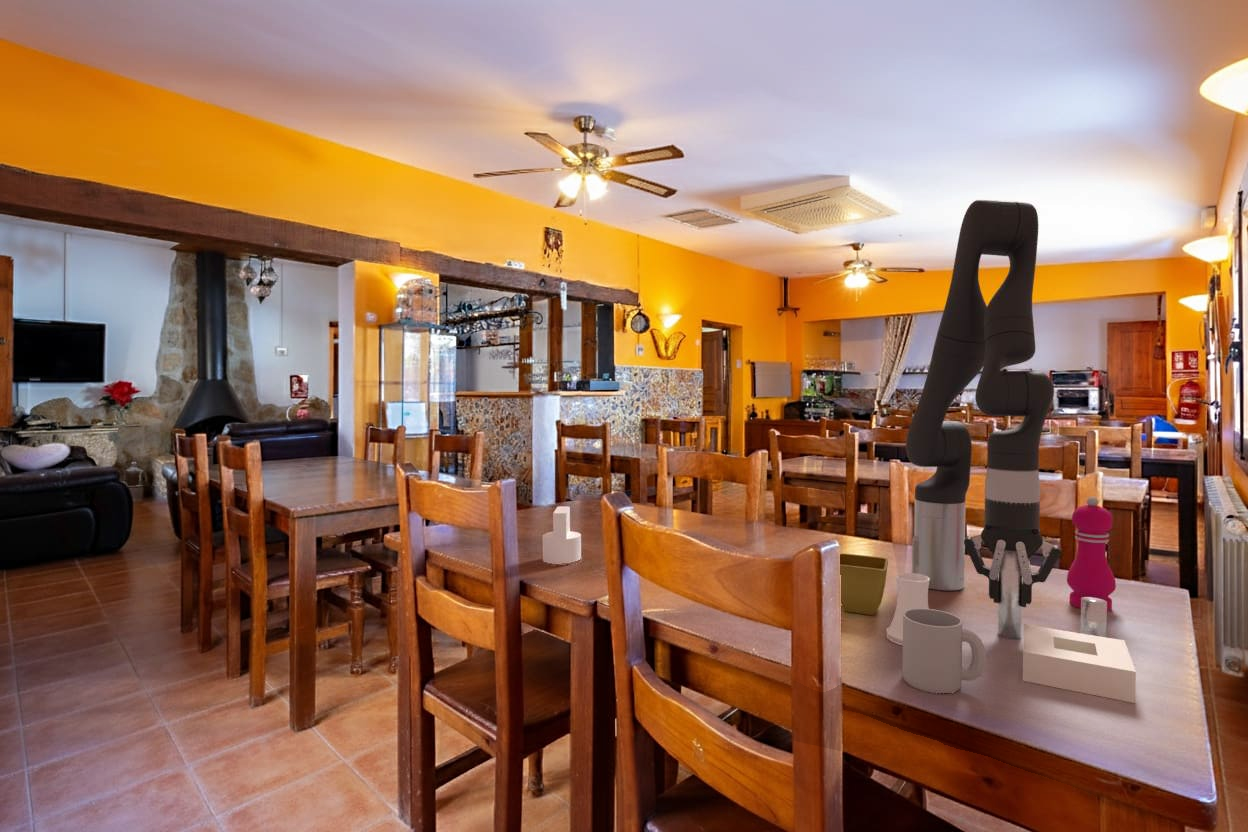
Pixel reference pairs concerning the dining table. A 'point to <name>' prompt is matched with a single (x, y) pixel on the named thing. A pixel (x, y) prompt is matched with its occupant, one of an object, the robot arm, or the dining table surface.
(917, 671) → the cup
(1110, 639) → the socket block
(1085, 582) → the pepper mill
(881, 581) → the flower pot
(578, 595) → the dining table surface
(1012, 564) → the tall pin
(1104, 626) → the short pin
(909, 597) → the vase
